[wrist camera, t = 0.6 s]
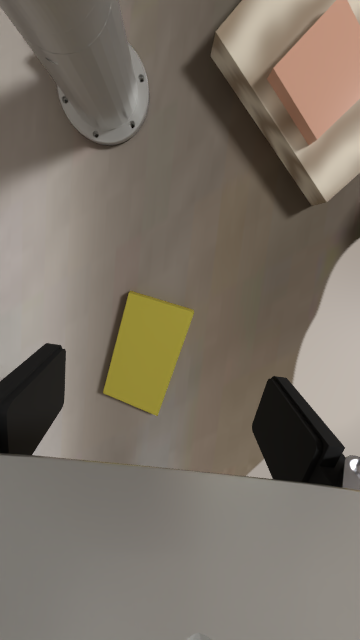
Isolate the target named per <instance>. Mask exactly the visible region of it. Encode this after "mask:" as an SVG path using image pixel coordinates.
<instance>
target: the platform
mask: <svg viewBox="0 0 360 640" xmlns="http://www.w3.org/2000/svg"><path fill="white" fill-rule="evenodd" d="M335 1H336V0H242V1H241V2H240V3H239V5H238V6H237V7H236V8H235V9H234V11H233V12H232V13H231V14H230V15H229V16H228V18H227V19H226V20H225V21H224V22H223V24H222V25H221V26H220V27H219V28H218V29H217V31H216V32H215V37H214V42H213V46H212V51H211V58H212V59H213V61H214V62H215V64H216V65H217V67H218V68H219V69H220V71H221V72H222V74H223V75H224V77H225V78H226V80H227V81H228V83H229V84H230V86H231V87H232V89H233V90H234V92H235V93H236V95H237V96H238V98H239V99H240V101H241V102H242V104H243V105H244V107H245V108H246V109H247V111H248V112H249V114H250V115H251V117H252V118H253V120H254V121H255V123H256V124H257V126H258V127H259V129H260V130H261V132H262V133H263V135H264V136H265V138H266V139H267V141H268V142H269V144H270V145H271V146H272V148H273V149H274V151H275V152H276V154H277V155H278V157H279V158H280V160H281V161H282V163H283V164H284V166H285V167H286V169H287V170H288V172H289V173H290V175H291V176H292V178H293V179H294V181H295V182H296V183H297V185H298V186H299V188H300V189H301V191H302V192H303V194H304V195H305V197H306V198H307V200H308V201H309V203H310V204H311V206H314V205H318V204H321V203H325V202H327V201H329V200H330V199H331V198H332V197H333V196H334V195H335V194H336V193H338V192H339V191H340V190H341V189H342V188H343V187H344V186H345V185H347V184H348V183H349V182H350V181H351V180H352V179H353V178H354V177H355V176H357V175H358V174H359V173H360V99H359V100H358V101H357V102H356V103H355V104H354V105H353V106H352V107H351V108H350V109H349V110H348V111H347V112H345V113H344V114H343V115H342V116H341V117H340V118H339V119H338V120H337V121H336V122H335V123H334V124H333V125H332V126H331V127H330V128H329V129H328V130H327V131H326V132H325V133H324V134H323V135H322V136H321V137H319V138H318V139H317V140H316V141H315V142H313V143H312V144H310V145H308V144H307V142H306V140H305V139H304V137H303V136H302V134H301V132H300V131H299V129H298V128H297V126H296V124H295V123H294V121H293V120H292V118H291V116H290V115H289V113H288V112H287V110H286V109H285V107H284V105H283V104H282V102H281V101H280V99H279V97H278V96H277V94H276V93H275V91H274V89H273V88H272V86H271V85H270V83H269V81H268V80H267V78H268V76H269V74H270V73H271V71H272V69H273V68H274V67H275V66H276V65H277V63H278V62H279V61H280V60H281V59H282V58H283V57H284V56H285V55H286V54H287V53H288V52H289V51H290V49H291V48H292V47H293V46H294V45H295V44H296V43H297V42H298V41H299V40H300V39H301V38H302V37H303V35H304V34H305V33H306V32H307V31H308V30H309V29H310V28H311V27H312V26H313V25H314V24H315V23H316V21H317V20H318V19H319V18H320V17H321V16H322V15H323V14H324V13H325V12H326V11H327V10H328V9H329V7H330V6H331V5H332V4H333V3H334V2H335ZM347 1H348V3H349V5H350V7H351V9H352V11H353V13H354V15H355V17H356V19H357V21H358V23H359V25H360V0H347Z"/></svg>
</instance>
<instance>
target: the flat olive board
mask: <svg viewBox="0 0 360 640" xmlns="http://www.w3.org/2000/svg"><path fill="white" fill-rule="evenodd" d="M193 314H194V310H192V309H189V308H186V307H182V306H179V305H176V304H172V303H169V302H166V301H163V300H159V299H156V298H153V297H149V296H146V295H143V294H139V293H136V292H133V291H130V292H129V294H128V298H127V302H126V306H125V310H124V314H123V317H122V321H121V325H120V329H119V333H118V337H117V341H116V344H115V348H114V352H113V356H112V360H111V364H110V368H109V371H108V375H107V379H106V383H105V387H104V391H103V393H104V394H106V395H109V396H111V397H113V398H116V399H118V400H121V401H123V402H125V403H128V404H130V405H132V406H135V407H137V408H140V409H142V410H144V411H147V412H149V413H151V414H154V415H156V416H158V413H159V410H160V407H161V405H162V402H163V399H164V396H165V393H166V390H167V388H168V385H169V382H170V379H171V376H172V373H173V371H174V368H175V365H176V362H177V359H178V356H179V354H180V351H181V348H182V345H183V342H184V339H185V337H186V334H187V331H188V328H189V325H190V323H191V320H192V317H193Z"/></svg>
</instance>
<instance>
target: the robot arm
mask: <svg viewBox="0 0 360 640" xmlns="http://www.w3.org/2000/svg"><path fill="white" fill-rule="evenodd" d="M0 7H1V8H2V9H3V11H4V12H5V14H6V15H7V16H8V18H9V19H10V20H11V22H12V23H13V25H14V26H15V27H16V28H17V30H18V31H19V33H20V34H21V35H22V37H23V38H24V39H25V41H26V42H27V44H28V45H29V46H30V48H31V49H32V51H33V52H34V53H35V55H36V56H37V57H38V59H39V60H40V62H41V63H42V64H43V66H44V67H45V68H46V70H47V71H48V73H49V74H50V75H51V77H52V78H53V80H54V81H55V82H56V84H57V90H58V95H59V100H60V102H61V105H62V108H63V110H64V112H65V114H66V116H67V117H68V119H69V120H70V122H71V123H72V124H73V126H74V127H75V128H76V129H77V130H78V131H79V132H80V133H81V134H82V135H83V136H85V137H86V138H87V139H89V140H91V141H93V142H95V143H99V144H102V145H116V144H120V143H123V142H125V141H127V140H128V139H130V138H131V137H133V136H134V135H135V134H136V133H137V131H138V130H139V129H140V127H141V126H142V124H143V122H144V120H145V117H146V115H147V110H148V105H149V88H148V80H147V75H146V72H145V69H144V66H143V64H142V62H141V60H140V58H139V56H138V54H137V53H136V51H135V50H134V49H133V48H132V46H131V45H130V44H129V43H128V41H127V36H126V32H125V27H124V22H123V18H122V13H121V8H120V4H119V0H0ZM141 81H144V82H141ZM67 101H68V103H67V104H66V102H67ZM132 126H135V127H134V128H131V127H132ZM97 135H99V136H98V138H96V136H97ZM65 361H66V351H65V349H62V346H61V345H56V344H49V343H46V344H45V345H44V346H42V347H41V348H40V349H39V350H38V351H36V352H35V353H34V354H33V355H31V356H30V357H29V358H28V359H27V360H25V361H24V362H23V363H22V364H21V365H19V366H18V367H17V368H16V369H15V370H13V371H12V372H11V373H10V374H9V375H7V376H6V377H5V378H4V379H3V380H1V381H0V640H360V457H358V456H348V457H345V456H344V455H343V454H342V452H343V451H344V449H345V447H344V446H343V445H342V443H341V442H340V441H339V440H338V439H337V437H336V436H335V435H334V434H333V433H332V431H331V430H330V429H329V428H328V427H327V426H326V424H325V423H324V422H323V421H322V420H321V418H320V417H319V416H318V415H317V414H316V412H315V411H314V410H313V409H312V408H311V407H310V405H309V404H308V403H307V402H306V401H305V399H304V398H303V397H302V396H301V395H300V393H299V392H298V391H297V390H296V389H295V387H294V386H293V385H292V384H291V383H290V381H289V380H288V379H287V378H283V377H276V376H273V377H272V378H271V379H268V381H267V384H266V386H265V389H264V392H263V395H262V398H261V401H260V404H259V407H258V409H257V412H256V415H255V418H254V421H253V424H252V430H253V433H254V436H255V438H256V440H257V443H258V445H259V447H260V450H261V452H262V454H263V457H264V459H265V461H266V464H267V466H268V468H269V471H270V473H271V475H272V478H273V479H266V478H256V477H248V476H238V475H229V474H219V473H210V472H200V471H190V470H180V469H170V468H160V467H150V466H140V465H130V464H119V463H109V462H98V461H88V460H77V459H66V458H56V457H45V456H35V455H32V454H33V452H34V451H35V449H36V448H37V446H38V445H39V443H40V442H41V440H42V438H43V437H44V435H45V434H46V432H47V431H48V429H49V428H50V426H51V424H52V423H53V421H54V420H55V418H56V417H57V415H58V414H59V412H60V410H61V409H62V407H63V404H64V391H65Z"/></svg>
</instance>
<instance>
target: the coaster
mask: <svg viewBox="0 0 360 640" xmlns="http://www.w3.org/2000/svg"><path fill="white" fill-rule="evenodd" d="M267 80H268V81H269V83H270V85H271V86H272V88H273V89H274V91H275V93H276V94H277V96H278V97H279V99H280V101H281V102H282V104H283V105H284V107H285V109H286V110H287V112H288V113H289V115H290V116H291V118H292V120H293V121H294V123H295V124H296V126H297V128H298V129H299V131H300V132H301V134H302V136H303V137H304V139H305V140H306V142H307V144H308V145H310V144H312V143H313V142H315V141H316V140H317V139H318V138H319V137H321V136H322V135H323V134H324V133H325V132H326V131H327V130H328V129H329V128H330V127H331V126H332V125H333V124H334V123H335V122H336V121H337V120H338V119H339V118H340V117H341V116H342V115H343V114H344V113H345V112H347V111H348V110H349V109H350V108H351V107H352V106H353V105H354V104H355V103H356V102H357V101H358V100H359V99H360V25H359V23H358V21H357V19H356V17H355V15H354V13H353V11H352V9H351V7H350V5H349V3H348V1H347V0H336V1H335V2H334V3H333V4H332V5H331V6H330V7H329V9H328V10H327V11H326V12H325V13H324V14H323V15H322V16H321V17H320V18H319V19H318V20H317V21H316V23H315V24H314V25H313V26H312V27H311V28H310V29H309V30H308V31H307V32H306V33H305V34H304V35H303V37H302V38H301V39H300V40H299V41H298V42H297V43H296V44H295V45H294V46H293V47H292V48H291V49H290V51H289V52H288V53H287V54H286V55H285V56H284V57H283V58H282V59H281V60H280V61H279V62H278V63H277V65H276V66H275V67H274V68H273V69H272V71H271V73H270V74H269V76H268V78H267Z"/></svg>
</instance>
